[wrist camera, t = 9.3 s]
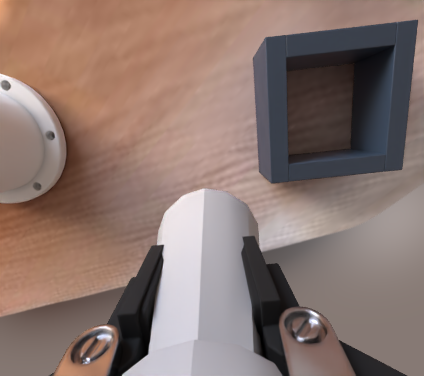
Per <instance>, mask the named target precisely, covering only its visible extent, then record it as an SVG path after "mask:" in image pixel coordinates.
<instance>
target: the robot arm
mask: <svg viewBox="0 0 424 376" xmlns="http://www.w3.org/2000/svg"><path fill="white" fill-rule="evenodd" d="M54 134H55V136H54ZM65 161H66V141H65V136H64V132H63V129H62V127H61V124H60V122H59V119H58V118H57V116H56V114H55V113H54V111H53V110H52V108H51V107H50V106H49V104H48V103H47V102H46V101H45V100H44V99H43V97H42V96H40V95H39V94H38V93H37V92H36V91H35V90H33V89H32V88H31V87H29V86H28V85H26V84H24V83H23V82H21V81H19V80H17V79H14V78H12V77H9V76H7V75H3V74H0V203H20V202H25V201H29V200H31V199H34V198H36V197H39V196H40V195H42V194H44V193H46V192H47V191H48V190H49V189H51V188H52V187H53V186H54V185H55V184H56V182H57V181H58V179H59V178H60V176H61V174H62V171H63V169H64V166H65ZM242 238H243V242H244V246H243V249H242V251H241V256H242V260H243V265H244V270H245V275H246V280H247V285H248V290H249V295H250V299H251V304H252V311H253V317H254V323H255V326H256V329H257V332H258V334H259V335H260V337H261V344H262V347H263V350H264V356H265V359H267V360H269V361H271V362H273V363H274V364H275V365H276V367H277V368H278V370H279V371H280V373H281V374H282V376H407V375H405V374H403V373H401V372H399V371H397V370H395V369H393V368H391V367H390V366H387V365H386V364H384V363H382V362H380V361H378V360H376V359H374V358H372V357H370V356H368V355H366V354H365V353H363V352H361V351H359V350H357V349H355V348H353V347H351V346H349V345H347V344H345V343H343V342H342V341H340V340H338V337H337V336H336V333H335V331H334V329H333V327H332V325H331V324H330V322H329V321H328V319H327V318H325V317H324V316H323V315H322V314H321V313H319V312H317V311H315V310H313V309H310V308H307V307H300V306H299V304H298V302H297V300H296V298H295V296H294V294H293V292H292V290H291V288H290V286H289V284H288V282H287V280H286V278H285V276H284V274H283V272H282V270H281V268H280V266H279V265H278V264H277V263H275V264H266V263H265V260H264V258H263V256H262V253H261V251H260V248H259V246H258V243H257V241H256V238H255V236H244V237H242ZM163 246H164V245H154V246H151V248H150V250H149V252H148V254H147V256H146V258H145V260H144V262H143V264H142V266H141V268H140V270H139V272H138V274H137V276H136V277H133V278H131V280H130V281H129V283H128V285H127V287H126V289H125V291H124V293H123V295H122V297H121V299H120V300H119V302H118V304H117V306H116V308H115V310H114V312H113V314H112V315H111V318H110V319H109V321H108V323H107V324H104V325H99V326H95V327H93V328H90V329H88V330H86V331H85V332H83V333H82V334H81V335H79V336H78V337H77V338H76V339H75V340H74V341H73V342H72V343H71V344H70V346H69V347H68V349H67V350H66V352H65V354H64V356H63V358H62V359H61V361H60V363H59V365H58V367H57V368H56V370H55V372H54V373H52V374H51V375H50V376H122V375H123V374H124V373H125V372H126V371H128V370H129V369H130V368H131V367H133V366H134V365H135V364H136V363H138V362H139V361H140V360H142V359H143V358H144V357H145V356H147V355H148V349H149V343H150V338H151V330H152V321H153V312H154V304H155V295H156V290H157V286H158V282H159V278H160V274H161V270H162V266H163V262H164V259H163V255H162V250H163Z"/></svg>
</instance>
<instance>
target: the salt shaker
mask: <svg viewBox="0 0 424 376" xmlns="http://www.w3.org/2000/svg"><path fill="white" fill-rule="evenodd" d="M244 236H255V238H256V241H257V243H258V246H259V233H258V223H257V221H256V220H255V218H254V216H253V214H252V212H251V211H250V209H249V207H248V205H247V204H245V203H244V202H242V201H241V200H239V199H238V198H236V197H234V196H233V195H231V194H230V193H228V192H226V191H220V190H213V189H206V188H204V189H201V190H198V191H195V192H191V193H188V194H185V195H183V196H182V197H181V198H180V199H179V200H178V201H176V202H175V203H174V204H173V205H172V206H171V207H170V208H169V209H168V210H167V211H166V212H165V214H164V217H163V220H162V223H161V226H160V228H159V231H158V241H157V245H164V246H163V250H162V255H163V259H164V262H163V266H162V270H161V274H160V278H159V282H158V286H157V290H156V295H155V304H154V312H153V321H152V330H151V338H150V343H149V349H148V355H147V356H145V357H144V358H143V359H142V360H140V361H139V362H138V363H136V364H135V365H134V366H133V367H131V368H130V369H129V370H128V371H126V372H125V373H124V374H123V375H122V376H282V374H281V373H280V371H279V370H278V368H277V367H276V365H275V364H274V363H273V362H271V361H269V360H267V359H265V356H264V350H263V347H262V344H261V337H260V335H259V334H258V332H257V329H256V326H255V323H254V317H253V311H252V304H251V299H250V295H249V290H248V285H247V280H246V275H245V270H244V265H243V260H242V256H241V251H242V249H243V246H244V242H243V238H242V237H244Z"/></svg>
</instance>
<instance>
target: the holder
mask: <svg viewBox="0 0 424 376" xmlns="http://www.w3.org/2000/svg"><path fill="white" fill-rule="evenodd" d="M417 25H418V20H411V21H402V22H397V23H396V22H394V23H386V24H377V25H369V26H360V27H352V28H343V29H335V30H326V31H318V32H309V33H301V34H292V35H282V36H274V37H266V38H265V39H264V41H263V42H262V44H261V46H260V47H259V49H258V51H257V52H256V54H255V56H254V57H253V66H254V84H255V103H256V121H257V139H258V158H259V173H261V174H262V175H263V176H264V177H265V178H266V179H267V180H268V181H269V182H271V183H281V182H289V181H299V180H308V179H318V178H327V177H337V176H347V175H356V174H366V173H375V172H383V171H395V170H402V167H403V157H404V148H405V138H406V129H407V120H408V110H409V101H410V91H411V82H412V72H413V63H414V54H415V44H416V35H417ZM345 64H354V84H353V106H352V127H351V148H350V149H344V150H334V151H325V152H316V153H306V154H297V155H288V116H287V71H293V70H301V69H310V68H319V67H328V66H336V65H345Z"/></svg>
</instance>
